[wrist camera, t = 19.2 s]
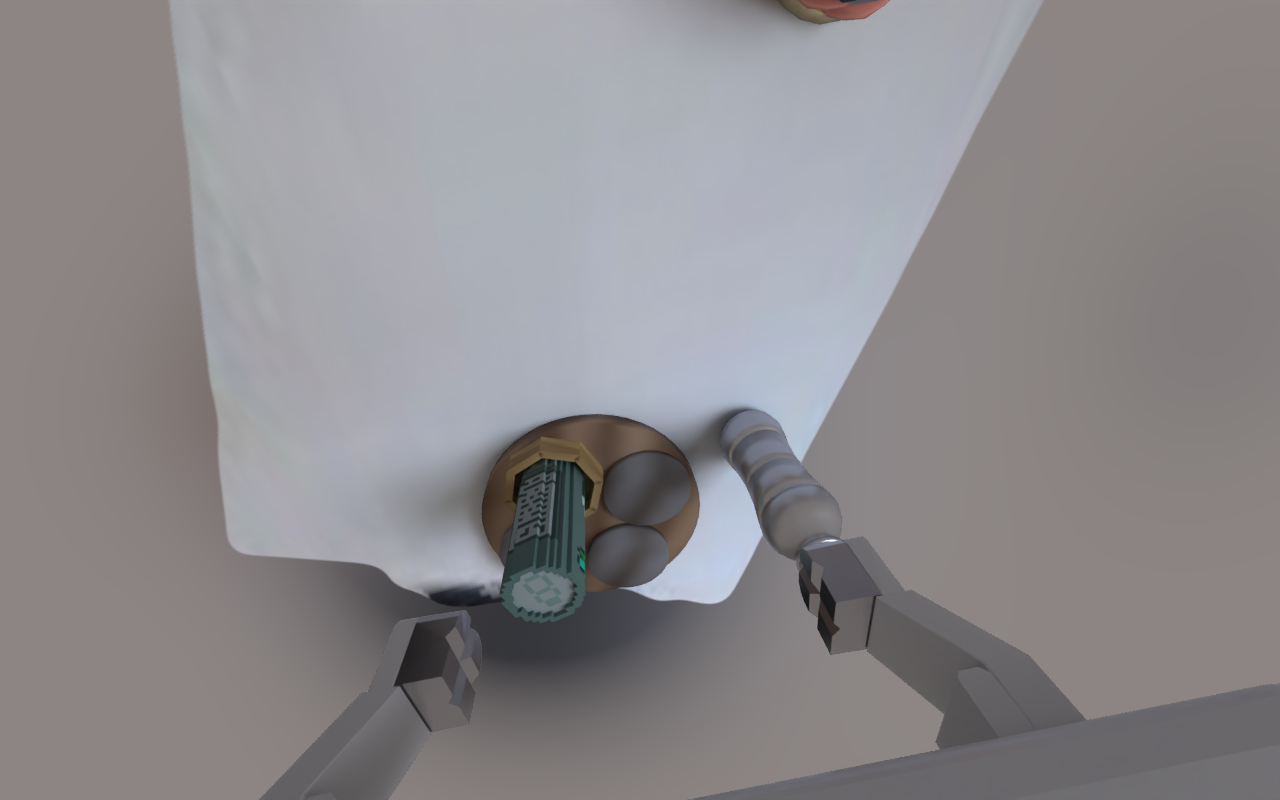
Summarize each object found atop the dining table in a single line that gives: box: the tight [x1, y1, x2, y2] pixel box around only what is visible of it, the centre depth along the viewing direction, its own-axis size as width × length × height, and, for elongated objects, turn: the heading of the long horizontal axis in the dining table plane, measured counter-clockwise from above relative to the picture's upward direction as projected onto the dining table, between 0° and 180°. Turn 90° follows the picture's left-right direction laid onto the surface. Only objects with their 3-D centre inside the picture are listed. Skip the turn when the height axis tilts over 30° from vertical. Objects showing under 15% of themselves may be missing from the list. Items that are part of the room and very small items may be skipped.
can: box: [500, 458, 585, 623], centre depth 42 cm, size 6×6×15 cm
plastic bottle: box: [720, 410, 842, 571], centre depth 42 cm, size 6×7×20 cm
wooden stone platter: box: [482, 414, 700, 592], centre depth 51 cm, size 24×24×4 cm
